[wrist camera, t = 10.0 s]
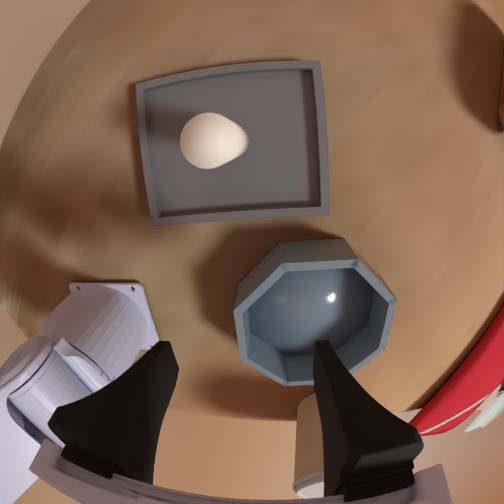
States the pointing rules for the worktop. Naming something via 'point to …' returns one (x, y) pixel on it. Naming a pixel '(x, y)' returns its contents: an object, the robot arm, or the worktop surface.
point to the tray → (257, 154)
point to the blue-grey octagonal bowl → (311, 309)
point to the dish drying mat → (466, 384)
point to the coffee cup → (309, 451)
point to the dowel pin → (212, 140)
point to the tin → (501, 99)
